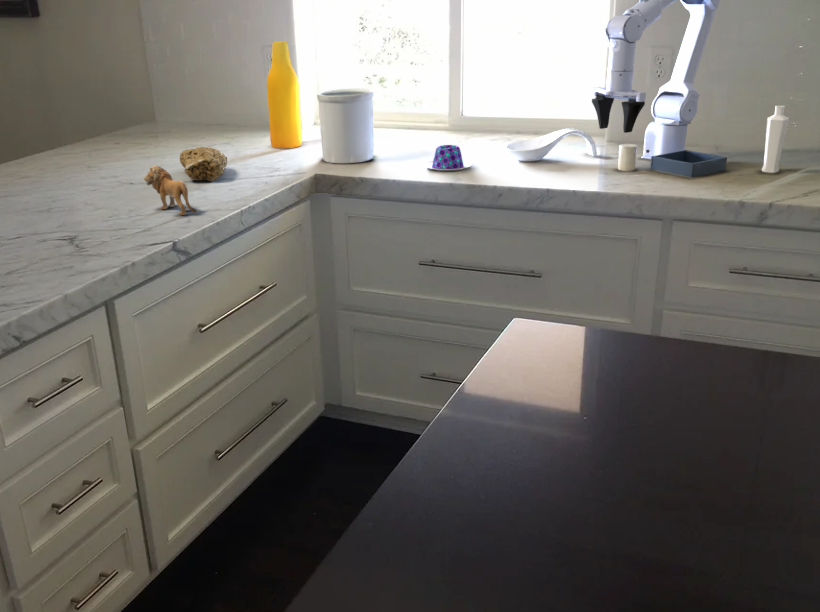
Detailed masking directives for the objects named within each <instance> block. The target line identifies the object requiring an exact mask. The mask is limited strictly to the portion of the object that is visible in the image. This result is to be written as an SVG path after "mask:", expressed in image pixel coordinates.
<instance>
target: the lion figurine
mask: <svg viewBox="0 0 820 612" xmlns="http://www.w3.org/2000/svg"><path fill="white" fill-rule="evenodd" d="M143 180H144V182H146V185H147V186H151V187H152V188H153V189H154V190H156V193H157V194H159V196H160V200H161V203H162V205H161V206H160V210H166V209H168V203H167V196H169V207H170V208H173V207H176V204H177V205H178V207H179V208H180V211H179V216H184V215H186V214H187V213H186V211H187V212H188V211H191V212H192V213H198V210H196V209H195V208H193V207H192V205H190V202H189V189H188V187H187V184H186V183H185V182H184V181H183V180H174V179H173V177H172V175H171V174H170V172H168V171H167V170H166V169H165V168H162V167H161V166H158V165H153V166H150V167H149V172H147V174H146V175H145V177H144V178H143ZM181 197H183V200H184V202H185V204H184V203H183V202H182V198H181Z"/></svg>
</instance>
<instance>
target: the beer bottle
mask: <svg viewBox="0 0 820 612" xmlns="http://www.w3.org/2000/svg"><path fill="white" fill-rule="evenodd" d="M270 65H271V66H270V69H269V71H268V74H267V77H266V90H267V91H266V93H267V106H268V121H269V139H270V146H271V147H272V148H273V149H280V150H281V149H283V150H284V149H295V148H299V147H301V146H302V144H303V136H302V135H303V134H302V121H301V103H300V102H301V101H300V85H299V79H298V75H297V73H296V71H295V69H294V67H293V65H292V61H291V56H290V50H289V42H288V41H287V40H279V41H272V46H271V64H270Z"/></svg>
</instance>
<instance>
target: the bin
mask: <svg viewBox="0 0 820 612" xmlns="http://www.w3.org/2000/svg"><path fill="white" fill-rule="evenodd" d="M727 163H728V156H724V155H717V154H712V153H711V154H710V153H705V152H699V151H693V150H687V149H685V150H683V151H677V152H672V153H666V154H661V155H656V156H651V159H650V167H649V170H654V171H659V172H664V173H668V174H673V175H677V176H683V177H688V178H694V177H699V176H703V175H704V176H705V175H708V174H709V175H710V174H715V173H718V172H719V173H720V172H724V171H726V170H727Z"/></svg>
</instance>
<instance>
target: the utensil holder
mask: <svg viewBox="0 0 820 612" xmlns="http://www.w3.org/2000/svg"><path fill="white" fill-rule="evenodd" d="M373 97H374V90H373V89H369V88H338V89H329V90H324V91H321V92H318V93H317V94H316V99H317V101H318V113H319V114H318V115H319V126H320V139H321V140H320V142H321V148H322V149H321V150H322V159H323V161H324V162H326V163H331V164H353V163H354V164H356V163H363V162H367V161H371V160H372V159H373V158H374V157H375V156H374V153H375V151H374V150H375V149H374V147H375V143H374V141H375V140H374V139H375V138H374V137H375V135H374V134H375V133H374V132H375V131H374V107H373V106H374V105H373Z"/></svg>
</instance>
